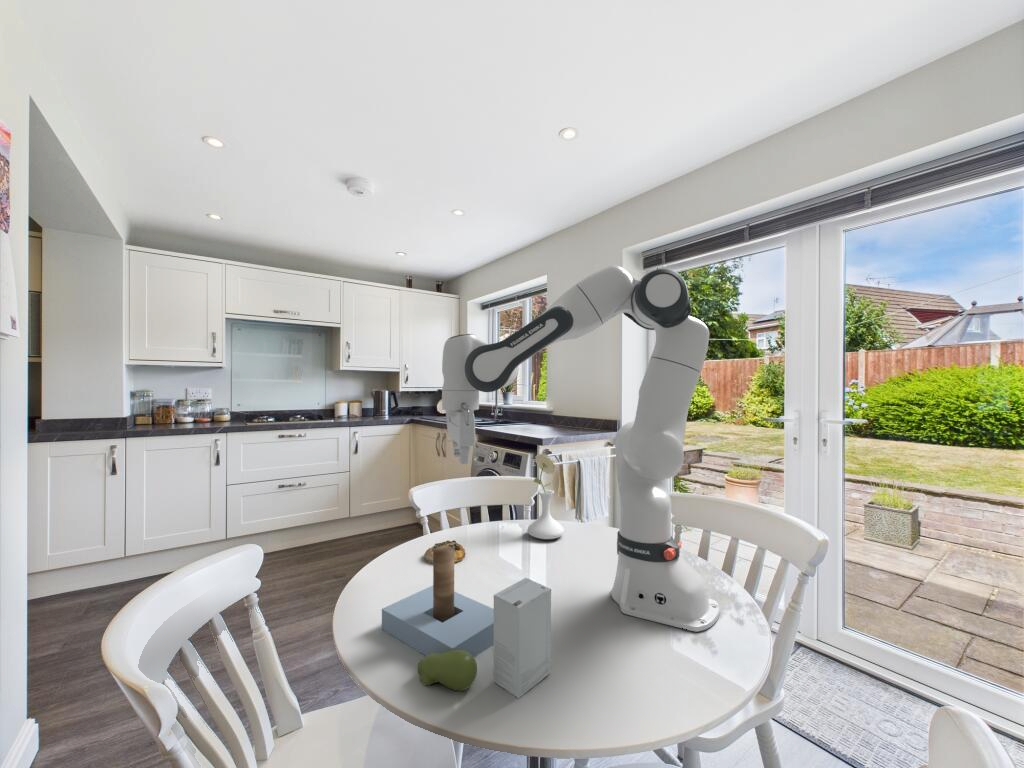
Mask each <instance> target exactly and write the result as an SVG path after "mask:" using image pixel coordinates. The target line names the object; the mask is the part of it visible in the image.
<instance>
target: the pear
mask: <svg viewBox="0 0 1024 768" xmlns="http://www.w3.org/2000/svg"><path fill="white" fill-rule="evenodd" d="M417 675H418V676H419V678H420V680H419V681H420V683H421V684H422V685H424V686H430V685H431V686H432V685H433V684H434V683H437V682H438V683H440V684H442V685H443V686H445V687H447V688H449V689H451V690H454V691H458V692H459V691H465V690H466V689H467V690H468V689H469V688H470V687H471V686H472V685H473V684H474V682H475V680H476V677H477V675H478V664H477V662H476V659H475V657H473V656H472V655H471V654H470V653H468V652H466V651H463V650H451V651H446V652H444V653H441V654H438V653H432V654H430V655H428V656H425V657H424V658H422V659H419V661H418V664H417Z"/></svg>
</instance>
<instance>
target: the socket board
mask: <svg viewBox="0 0 1024 768" xmlns="http://www.w3.org/2000/svg"><path fill="white" fill-rule="evenodd" d="M381 630H383V631H384V632H385V633H387V634H389V635H391V636H392V635H393V637H394V638H396V639H397V640H399V641H401V642H402V643H404V644H406V645H408V646H409V647H411V648H412V647H413V650H415V649H416V651H417V650H418V651H417V652H418V653H420V652H421V653H420V654H422V653H423V654H422V655H424V656H425V657H426V656H428V655H430V654H432V653H438V654H441V653H444V652H446V651H451V650H463V651H466V652H468V653H470V654H471V655H472V656H473V657H474V658H475V657H477V656H479V655H480V654H481V653H483V652H484V651H486V650H487V649H489V648H490V647H492V646H494V607H493V608H492V607H490V606H489V605H485V604H484V603H481V602H479V601H477V600H475V599H473V598H470V597H468V596H465V595H464V594H461V593H458V592H457V591H454V617H452V618H450V619H448V620H446V621H445V622H443V623H442V622H440V621H438V620H436V619H434V618H433V585H431V586H428V587H427V588H426V587H425V588H423V589H422V590H420V591H418V592H416V593H413V594H411V595H409V596H407V597H404V598H402V599H400V600H398V601H396V602H394V603H392V604H389V605H388V606H385V607H382V608H381Z"/></svg>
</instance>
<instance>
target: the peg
mask: <svg viewBox="0 0 1024 768" xmlns="http://www.w3.org/2000/svg"><path fill="white" fill-rule="evenodd" d="M432 567H433V569H432V571H433V572H432V574H433V577H432V580H433V581H432V584H433V585H432V586H433V618H434V619H436V620H438V621H440V622H442V623H443V622H445V621H446V620H448V619H450V618H452V617H454V592H455V563H454V548H453V547H450V546H440V547H437V548H435V549H434V550H433V563H432Z"/></svg>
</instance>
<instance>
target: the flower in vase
mask: <svg viewBox="0 0 1024 768" xmlns="http://www.w3.org/2000/svg"><path fill="white" fill-rule="evenodd" d="M534 458H535V459H534V460H535V463H536V464H537V465H536V466H537V467H539V469H540V475H539V478H538V477H535V478H534V479H533V482H534V483H537V484H538V485H539V486H541V488H542V489H539V490H537V493H538V495H539V496H540V499H541V514H540V516H539V517H538V518H537V519H535V520H534V521H533V522H531V524H529V525H528V526H527V529H526V532H527V533H528V535H529V536H532V537H533V538H536V539H540V540H555V539H557V538H560V537H562V536H563V535H564V533H565V530H564V527H563V526H562V525H561V523H559V522H558V521H557V520H555V519H554V518H553V517H552V515H551V511H550V505H551V499H552V496H553V495H554V494H555V491H554V490H552V489H545V488H546V487H548V486H550V485H551V484H552V483H553V482H554V481H553V480H552V481H551V482H548V483H546V484H545V485H544V484H543V481H542V476H543V475H542V474H543V473H545V474H548V475H550V476H552V475H554V474H557V473H556V471H557V466H556V464H555V461H554V460H553V459H551V457H548V455H547V454H545V455H544V454H543V453H539V454H536V455H535V456H534Z"/></svg>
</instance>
